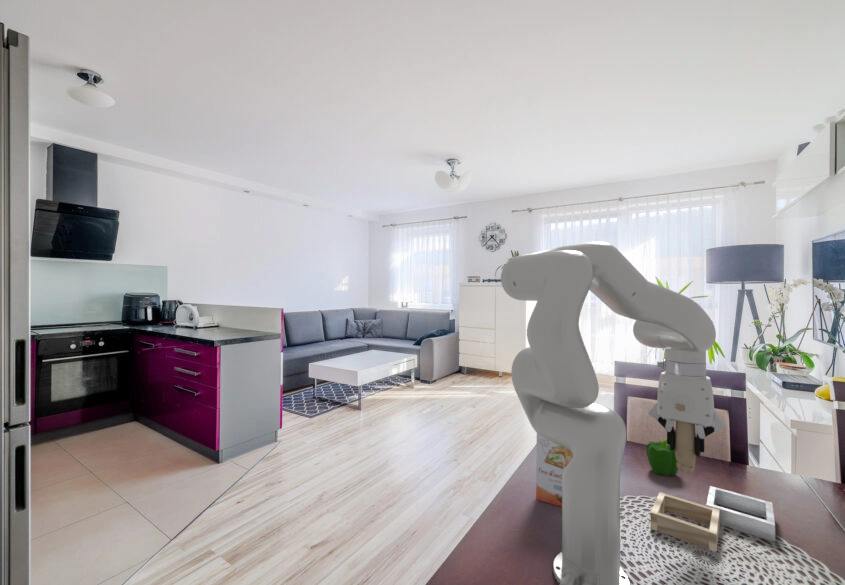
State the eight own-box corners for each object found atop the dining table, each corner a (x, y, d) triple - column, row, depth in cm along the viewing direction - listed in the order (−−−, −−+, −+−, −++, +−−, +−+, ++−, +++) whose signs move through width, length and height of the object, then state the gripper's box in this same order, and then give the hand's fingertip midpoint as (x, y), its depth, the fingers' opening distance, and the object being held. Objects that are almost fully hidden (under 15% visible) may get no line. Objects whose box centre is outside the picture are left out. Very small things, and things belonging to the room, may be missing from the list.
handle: (708, 473, 80) (707, 404, 80) (682, 476, 79) (681, 405, 79) (688, 463, 85) (688, 398, 85) (664, 465, 84) (663, 399, 84)
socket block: (775, 542, 77) (775, 525, 77) (706, 520, 85) (706, 504, 85) (772, 517, 86) (772, 502, 86) (710, 499, 93) (709, 485, 93)
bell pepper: (640, 470, 109) (640, 436, 109) (654, 463, 113) (654, 430, 113) (672, 482, 102) (672, 446, 102) (686, 474, 106) (685, 439, 106)
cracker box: (535, 501, 92) (535, 417, 92) (540, 490, 97) (541, 410, 97) (597, 518, 85) (597, 427, 85) (599, 505, 90) (599, 419, 90)
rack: (716, 552, 74) (716, 534, 74) (650, 528, 81) (650, 512, 81) (719, 525, 83) (719, 509, 83) (659, 506, 90) (659, 491, 90)
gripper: (638, 366, 85) (638, 446, 85) (733, 377, 74) (734, 469, 74) (645, 362, 91) (645, 437, 91) (734, 371, 80) (735, 456, 80)
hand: (685, 450), depth 82 cm, fingers closed on handle, 4 cm apart
